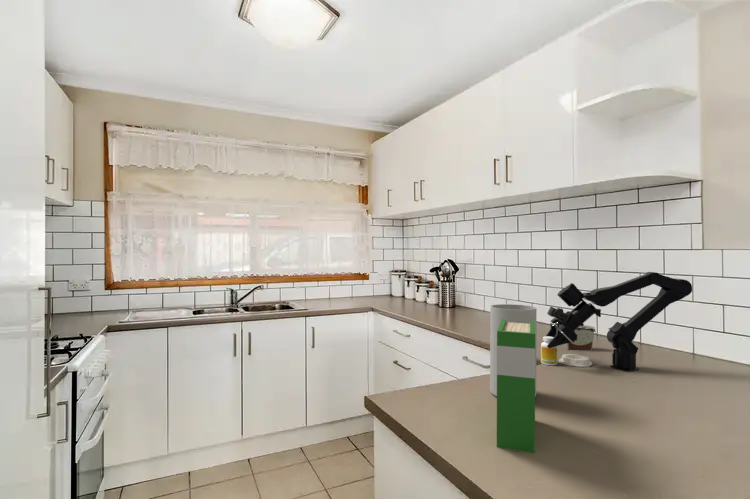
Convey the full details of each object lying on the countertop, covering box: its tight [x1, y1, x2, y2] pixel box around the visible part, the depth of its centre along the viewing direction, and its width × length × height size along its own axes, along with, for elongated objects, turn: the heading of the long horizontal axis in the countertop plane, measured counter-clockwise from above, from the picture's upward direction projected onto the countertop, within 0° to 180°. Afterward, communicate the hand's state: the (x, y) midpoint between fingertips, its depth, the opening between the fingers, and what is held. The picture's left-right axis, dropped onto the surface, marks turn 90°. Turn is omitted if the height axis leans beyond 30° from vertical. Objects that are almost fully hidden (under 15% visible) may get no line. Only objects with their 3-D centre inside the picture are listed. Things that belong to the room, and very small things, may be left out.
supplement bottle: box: [540, 335, 558, 366], centre depth 152 cm, size 5×5×10 cm
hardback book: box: [496, 319, 536, 454], centre depth 93 cm, size 18×7×24 cm, turn 160°
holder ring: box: [558, 353, 593, 368], centre depth 153 cm, size 11×11×2 cm
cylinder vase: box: [489, 303, 537, 398], centre depth 118 cm, size 12×12×25 cm
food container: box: [566, 324, 597, 352], centre depth 176 cm, size 12×6×10 cm, turn 84°
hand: (545, 344), depth 152 cm, fingers open, 9 cm apart
